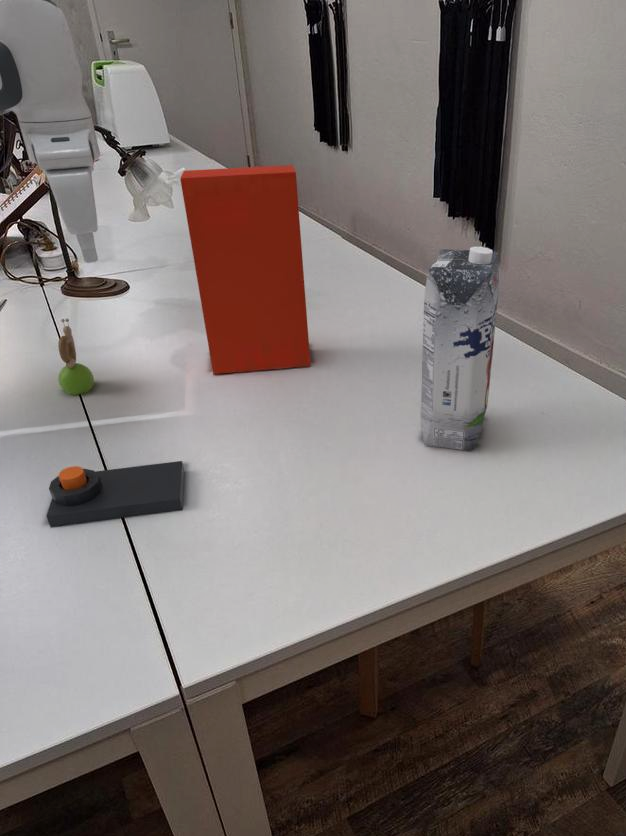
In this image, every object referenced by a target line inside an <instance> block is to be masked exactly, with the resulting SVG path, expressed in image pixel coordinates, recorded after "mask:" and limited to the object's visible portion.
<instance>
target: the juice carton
mask: <svg viewBox="0 0 626 836" xmlns="http://www.w3.org/2000/svg"><path fill="white" fill-rule="evenodd" d="M499 266H500V265H499V252H497V251H493V249H491V248H489V247H484V246H472V247H470V248H469V249H449V248H448V249H447V248H446V249H445V248H441V249H440V250H439V252H438V254H437V258H436V261H435V262H433V263H432V264H431V265H430V266H429V267H428V270H427V272H426V273H427V274H426V282H425V289H424V298H423V317H422V318H423V319H422V320H423V322H422V355H421V358H422V359H421V384H420V385H421V386H420V387H421V388H420V425H421V432H422V433H421V434H422V439H423V443H424V445H425V446H427V447H435V448H443V449H452V450H460V451H468V452H472V451H474V450H475V448H476V445H477V443H478V441H479V438H480V435H481V431H482V429H483V425H484V420H485V416H486V413H487V408H488V403H489V395H490V386H491V385H490V384H491V374H492V364H493V355H494V345H495V344H494V343H495V334H496V323H497V312H498V303H499V291H500V269H499V268H500V267H499Z"/></svg>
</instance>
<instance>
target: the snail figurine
mask: <svg viewBox="0 0 626 836" xmlns="http://www.w3.org/2000/svg"><path fill="white" fill-rule="evenodd" d="M60 321H61V322H62V323H63V326H64V327H63V328H62V332H63V335H62V336H60V337H59V339H58V343H57V345H58V353H59V357H60V359H61V361H62V362H63V363H65V365H64V366H63V367H62V368H61V370H60V371H59V373H58V384H59V386H60V388H61V390H62V391H64V392H65V393H66V394H68V395H71V396H79V395H84V394H86V393H89V392H90V391H91V390H92V389H93V387H94V384H95V378H94V374H93V372H92V371H91V369H90V368H89V367H87V366H86V365H84V364H82V363H78V362H77V350H76V344H75V339H74V336H73V334H72V331H73V330H72V328H71V327H70V324H69V321H70V319H68V318H65V319H64V318H61V319H60ZM65 322H66V323H67V325H65Z"/></svg>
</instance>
